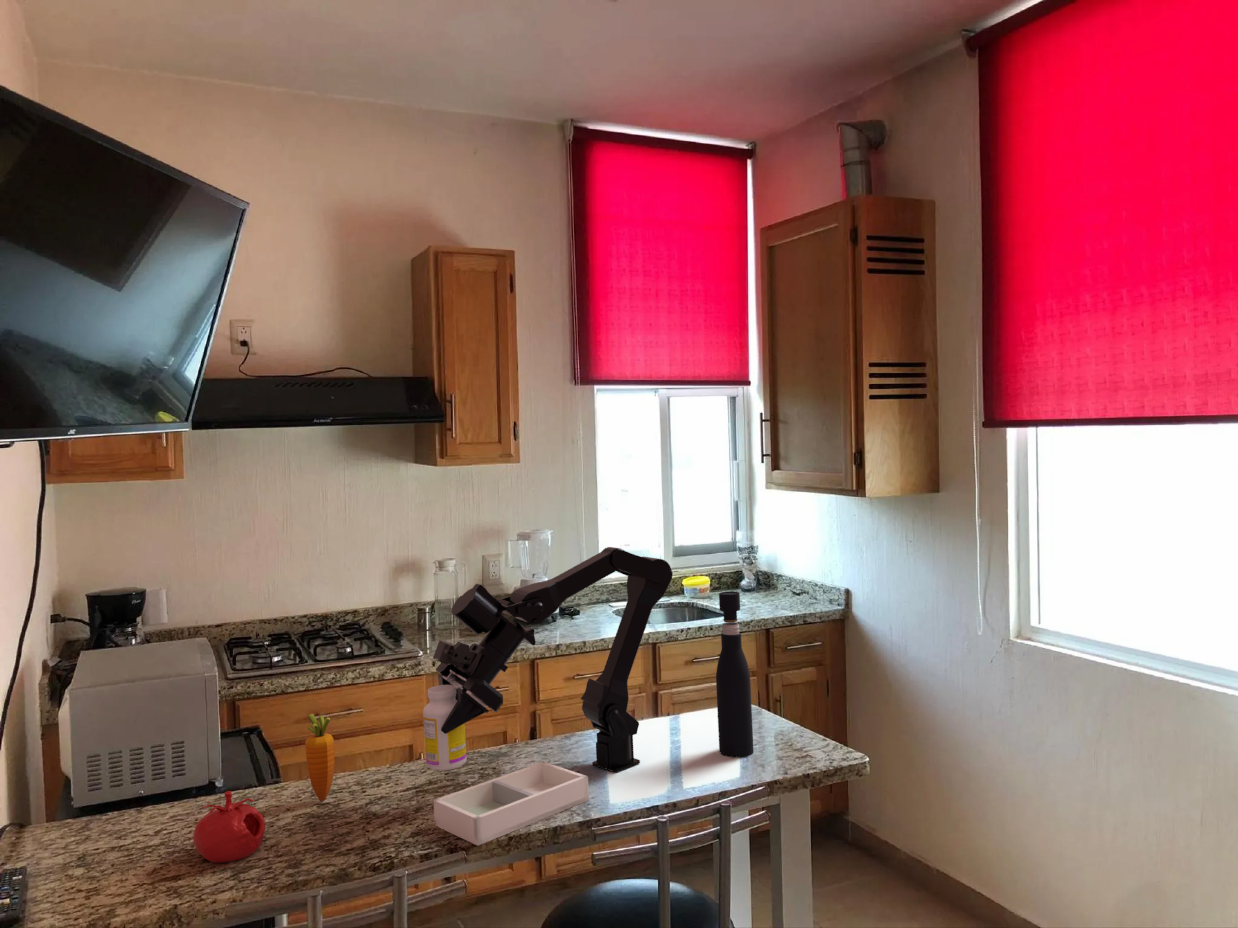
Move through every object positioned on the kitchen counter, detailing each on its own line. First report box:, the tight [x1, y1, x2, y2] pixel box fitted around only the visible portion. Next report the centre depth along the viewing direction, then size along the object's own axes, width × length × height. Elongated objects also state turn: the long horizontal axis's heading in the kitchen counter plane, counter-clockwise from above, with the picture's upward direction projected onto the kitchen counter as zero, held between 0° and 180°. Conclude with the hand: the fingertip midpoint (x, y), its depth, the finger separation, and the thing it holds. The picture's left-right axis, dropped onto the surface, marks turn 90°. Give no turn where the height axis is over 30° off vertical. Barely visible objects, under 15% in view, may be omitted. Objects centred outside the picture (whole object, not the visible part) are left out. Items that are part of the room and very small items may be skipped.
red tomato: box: [192, 790, 266, 864], centre depth 136 cm, size 10×10×9 cm
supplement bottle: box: [422, 684, 467, 771], centre depth 151 cm, size 7×7×13 cm
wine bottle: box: [715, 591, 754, 758], centre depth 171 cm, size 6×6×30 cm
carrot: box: [304, 713, 336, 802], centre depth 155 cm, size 5×5×15 cm
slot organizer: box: [433, 761, 590, 847], centre depth 146 cm, size 22×12×4 cm, turn 134°
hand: (436, 726), depth 151 cm, fingers closed on supplement bottle, 7 cm apart
